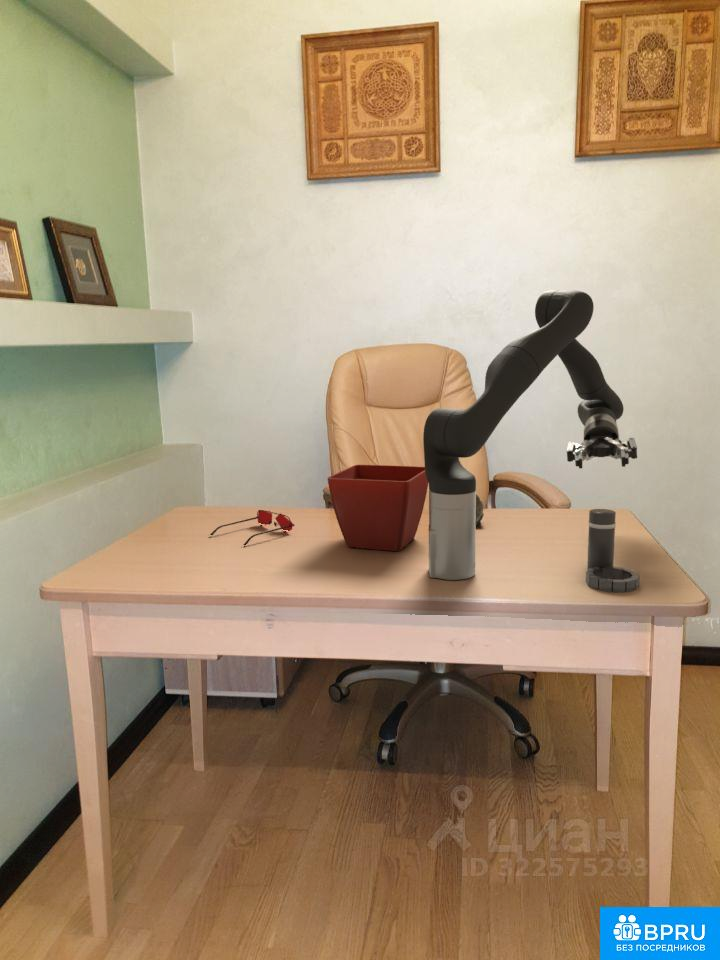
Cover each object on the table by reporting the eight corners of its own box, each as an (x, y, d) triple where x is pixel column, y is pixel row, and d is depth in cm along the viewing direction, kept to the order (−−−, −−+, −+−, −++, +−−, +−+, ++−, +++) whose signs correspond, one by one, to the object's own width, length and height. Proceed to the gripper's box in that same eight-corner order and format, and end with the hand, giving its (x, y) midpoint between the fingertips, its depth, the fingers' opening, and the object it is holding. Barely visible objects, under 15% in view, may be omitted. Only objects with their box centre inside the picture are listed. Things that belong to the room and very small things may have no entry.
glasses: (296, 535, 186) (295, 515, 185) (242, 549, 174) (241, 528, 173) (260, 526, 195) (259, 507, 194) (206, 539, 184) (205, 519, 183)
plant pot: (357, 529, 188) (355, 463, 185) (431, 535, 181) (431, 466, 178) (327, 550, 170) (325, 477, 167) (409, 557, 164) (408, 481, 161)
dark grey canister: (590, 573, 151) (592, 515, 148) (584, 565, 156) (586, 508, 153) (616, 573, 150) (619, 514, 148) (609, 565, 155) (612, 508, 153)
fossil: (451, 529, 184) (443, 490, 187) (439, 538, 193) (431, 500, 195) (492, 523, 187) (483, 485, 190) (478, 532, 196) (469, 495, 198)
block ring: (593, 592, 140) (593, 581, 140) (581, 576, 149) (581, 566, 149) (644, 592, 139) (645, 581, 139) (629, 575, 149) (630, 566, 148)
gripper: (567, 421, 171) (565, 448, 157) (634, 417, 167) (638, 444, 153) (569, 451, 174) (567, 481, 160) (634, 448, 170) (638, 478, 156)
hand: (601, 463), depth 156 cm, fingers open, 8 cm apart
